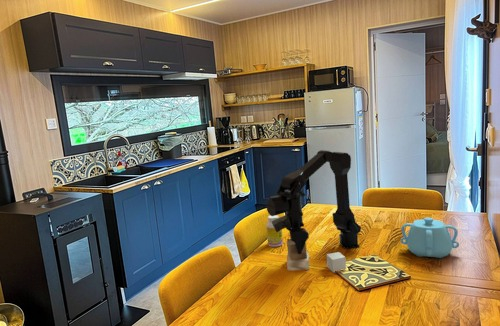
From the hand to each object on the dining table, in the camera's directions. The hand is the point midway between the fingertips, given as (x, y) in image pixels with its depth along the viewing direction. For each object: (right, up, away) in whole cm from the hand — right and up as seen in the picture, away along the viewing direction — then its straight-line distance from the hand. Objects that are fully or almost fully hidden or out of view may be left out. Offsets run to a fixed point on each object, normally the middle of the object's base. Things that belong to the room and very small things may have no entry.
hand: (297, 249), depth 139 cm
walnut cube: (0, -3, +1) cm, 3 cm away
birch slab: (+1, -7, +1) cm, 7 cm away
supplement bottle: (-7, -4, +24) cm, 25 cm away
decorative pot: (+50, -2, +1) cm, 50 cm away
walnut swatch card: (+2, -5, +10) cm, 11 cm away
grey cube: (+14, -6, -4) cm, 16 cm away
